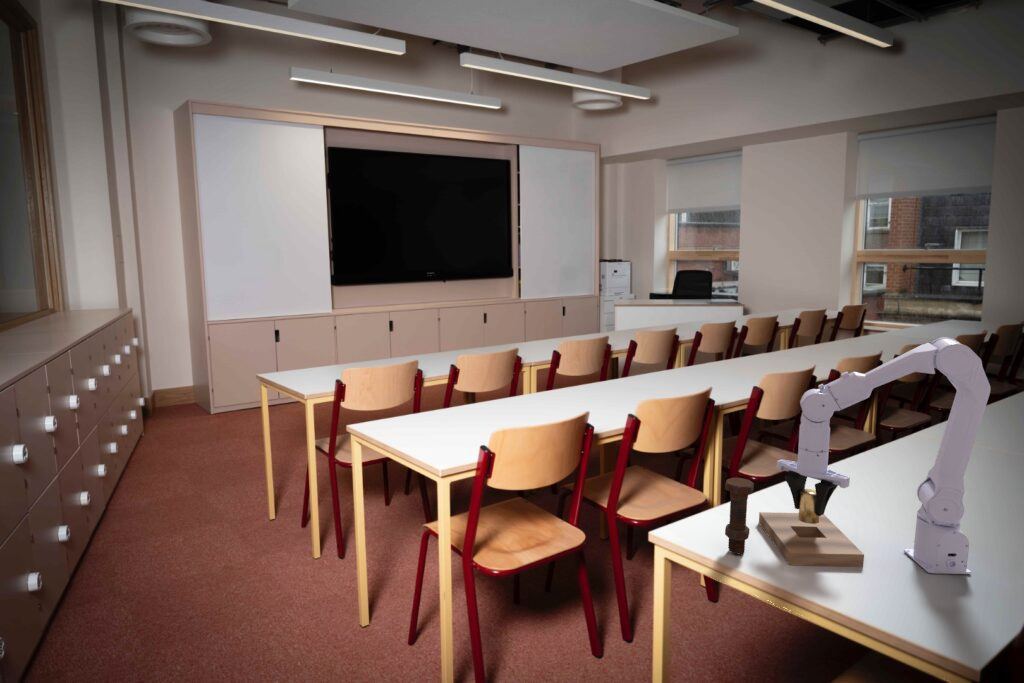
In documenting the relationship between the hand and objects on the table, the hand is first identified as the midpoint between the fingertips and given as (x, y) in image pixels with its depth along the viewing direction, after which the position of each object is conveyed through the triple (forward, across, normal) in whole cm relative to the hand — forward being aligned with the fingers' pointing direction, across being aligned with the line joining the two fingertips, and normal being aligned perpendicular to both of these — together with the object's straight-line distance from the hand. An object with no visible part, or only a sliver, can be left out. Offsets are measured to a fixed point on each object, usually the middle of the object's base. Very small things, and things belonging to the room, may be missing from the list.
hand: (809, 511), depth 142 cm
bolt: (+7, +7, +15) cm, 18 cm away
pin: (+2, 0, 0) cm, 2 cm away
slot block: (+7, 0, 0) cm, 7 cm away
